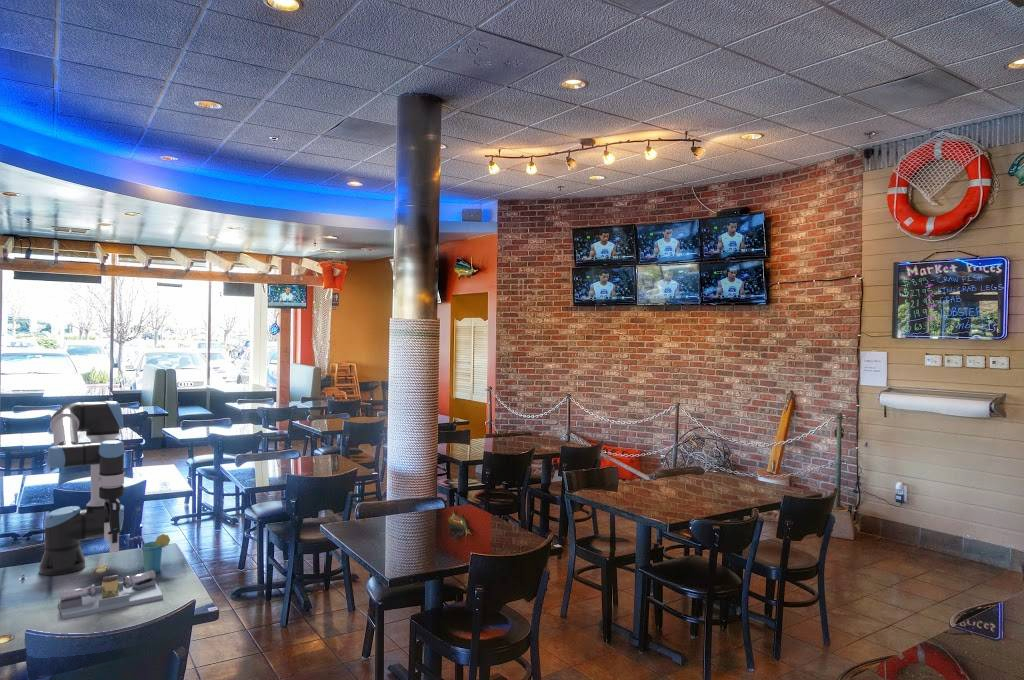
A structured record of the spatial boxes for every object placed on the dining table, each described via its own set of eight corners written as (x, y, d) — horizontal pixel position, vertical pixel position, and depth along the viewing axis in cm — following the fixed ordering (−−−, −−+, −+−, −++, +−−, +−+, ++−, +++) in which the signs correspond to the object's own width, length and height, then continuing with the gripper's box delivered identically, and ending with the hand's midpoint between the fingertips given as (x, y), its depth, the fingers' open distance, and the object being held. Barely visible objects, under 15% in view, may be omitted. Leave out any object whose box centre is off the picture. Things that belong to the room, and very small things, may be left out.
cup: (131, 578, 264) (131, 539, 264) (127, 572, 270) (127, 534, 270) (171, 571, 273) (171, 533, 272) (166, 565, 279) (167, 528, 278)
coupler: (101, 596, 244) (101, 575, 243) (117, 593, 247) (117, 572, 246) (102, 601, 240) (102, 580, 239) (119, 598, 243) (119, 577, 242)
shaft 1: (59, 600, 236) (59, 588, 236) (94, 594, 242) (94, 582, 242) (60, 605, 233) (60, 592, 233) (95, 598, 239) (95, 586, 239)
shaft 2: (122, 590, 249) (122, 575, 249) (149, 582, 257) (149, 567, 257) (129, 594, 246) (129, 578, 246) (157, 585, 255) (157, 570, 255)
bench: (58, 603, 241) (58, 593, 240) (154, 585, 259) (154, 575, 258) (62, 619, 229) (62, 608, 228) (162, 598, 247) (162, 588, 246)
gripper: (94, 479, 250) (94, 537, 251) (103, 495, 230) (103, 558, 231) (118, 476, 254) (118, 534, 255) (129, 492, 234) (129, 554, 235)
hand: (111, 546), depth 243 cm, fingers open, 13 cm apart
